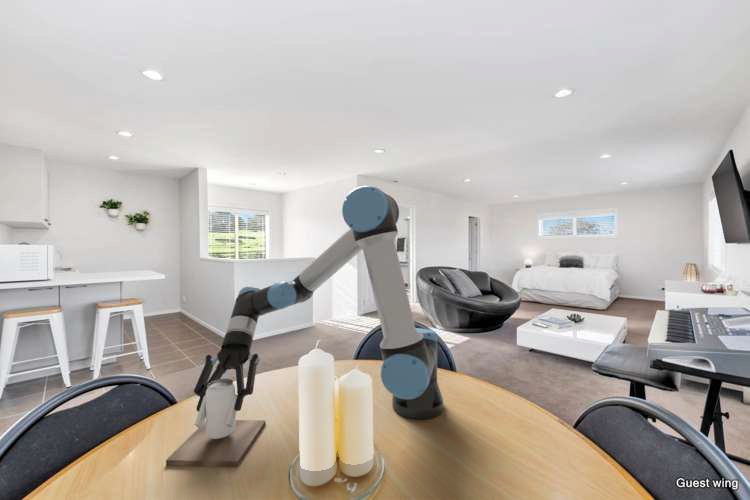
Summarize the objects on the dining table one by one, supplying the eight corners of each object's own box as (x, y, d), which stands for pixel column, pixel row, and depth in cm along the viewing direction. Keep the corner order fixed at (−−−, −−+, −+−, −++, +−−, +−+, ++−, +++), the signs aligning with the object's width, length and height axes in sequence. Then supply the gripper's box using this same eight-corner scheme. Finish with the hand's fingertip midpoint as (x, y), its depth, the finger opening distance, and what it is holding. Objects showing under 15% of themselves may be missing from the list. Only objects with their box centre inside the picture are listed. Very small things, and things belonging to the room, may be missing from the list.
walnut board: (265, 424, 84) (265, 420, 84) (237, 466, 68) (237, 461, 68) (207, 423, 85) (207, 419, 85) (166, 465, 69) (165, 460, 69)
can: (241, 428, 78) (240, 380, 78) (218, 443, 72) (218, 391, 72) (223, 422, 81) (222, 376, 81) (200, 436, 75) (199, 386, 75)
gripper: (276, 341, 92) (259, 429, 76) (209, 343, 91) (178, 432, 75) (271, 328, 87) (252, 419, 71) (199, 330, 86) (163, 422, 70)
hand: (214, 425), depth 73 cm, fingers closed on can, 6 cm apart
